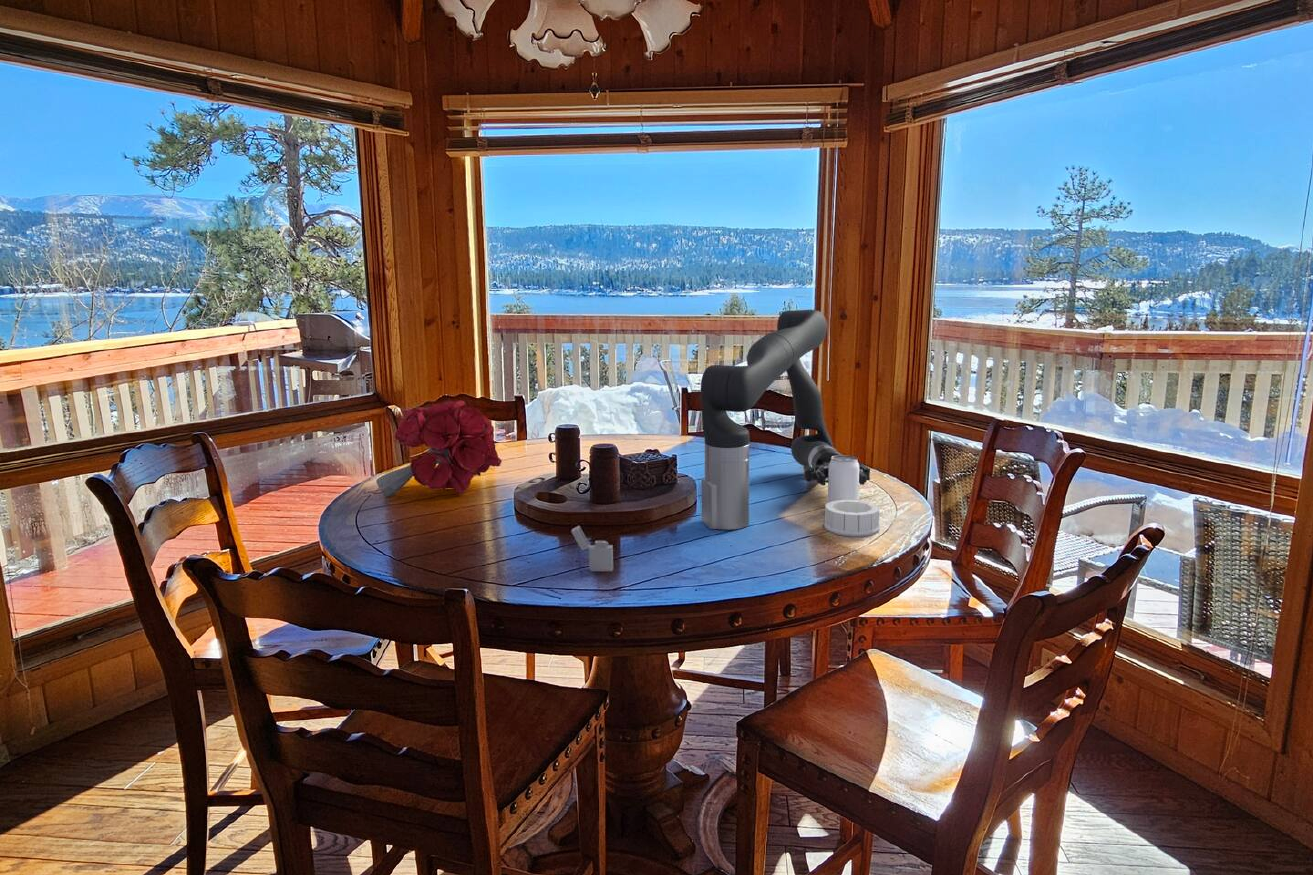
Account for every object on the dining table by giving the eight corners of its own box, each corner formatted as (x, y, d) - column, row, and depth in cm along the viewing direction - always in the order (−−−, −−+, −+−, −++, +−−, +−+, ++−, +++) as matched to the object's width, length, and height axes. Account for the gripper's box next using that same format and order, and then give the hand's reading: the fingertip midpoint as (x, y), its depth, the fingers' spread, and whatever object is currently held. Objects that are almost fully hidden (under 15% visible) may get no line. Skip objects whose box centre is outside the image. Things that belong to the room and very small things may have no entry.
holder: (840, 539, 157) (841, 517, 156) (814, 522, 167) (815, 502, 166) (889, 533, 160) (890, 512, 159) (861, 517, 170) (862, 497, 169)
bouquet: (403, 537, 183) (514, 467, 185) (341, 452, 178) (457, 380, 180) (414, 516, 204) (514, 453, 206) (360, 439, 199) (463, 375, 201)
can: (823, 513, 173) (825, 459, 171) (832, 505, 179) (833, 453, 177) (853, 517, 170) (855, 462, 168) (860, 509, 176) (862, 456, 174)
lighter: (613, 567, 144) (612, 525, 142) (612, 571, 142) (611, 528, 140) (574, 567, 144) (572, 525, 143) (572, 571, 142) (571, 528, 141)
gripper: (797, 448, 188) (811, 464, 172) (857, 447, 188) (877, 463, 172) (796, 479, 190) (810, 497, 174) (856, 477, 190) (875, 496, 174)
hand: (843, 480), depth 173 cm, fingers open, 8 cm apart
